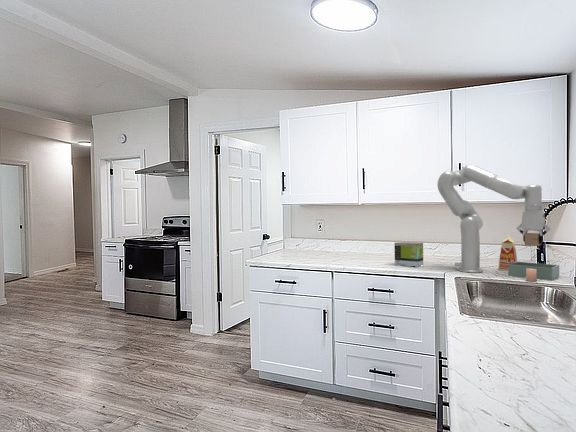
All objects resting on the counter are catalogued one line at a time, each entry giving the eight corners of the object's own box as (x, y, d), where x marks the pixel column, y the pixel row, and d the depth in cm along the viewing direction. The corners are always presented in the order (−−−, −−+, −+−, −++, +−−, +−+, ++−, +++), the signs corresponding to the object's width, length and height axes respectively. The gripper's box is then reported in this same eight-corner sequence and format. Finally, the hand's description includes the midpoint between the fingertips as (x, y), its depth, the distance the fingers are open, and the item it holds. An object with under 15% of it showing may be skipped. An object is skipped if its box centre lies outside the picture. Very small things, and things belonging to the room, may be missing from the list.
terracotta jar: (524, 281, 191) (524, 268, 191) (527, 279, 194) (527, 267, 194) (534, 282, 188) (535, 270, 188) (537, 281, 191) (537, 268, 191)
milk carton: (501, 268, 230) (501, 234, 229) (518, 269, 224) (519, 235, 224) (497, 270, 223) (497, 235, 222) (516, 271, 217) (516, 236, 217)
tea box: (423, 265, 243) (423, 242, 243) (416, 267, 236) (416, 243, 236) (401, 263, 254) (401, 241, 253) (394, 265, 246) (394, 242, 246)
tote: (508, 275, 206) (508, 264, 206) (517, 272, 215) (517, 261, 215) (552, 280, 192) (552, 268, 192) (559, 276, 201) (559, 265, 201)
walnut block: (528, 244, 207) (528, 233, 207) (541, 244, 203) (541, 233, 202) (524, 245, 203) (524, 233, 203) (537, 245, 199) (537, 234, 198)
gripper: (554, 208, 198) (554, 243, 199) (517, 208, 211) (517, 241, 212) (550, 208, 193) (550, 244, 194) (512, 208, 206) (512, 242, 207)
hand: (533, 242), depth 203 cm, fingers closed on walnut block, 6 cm apart
